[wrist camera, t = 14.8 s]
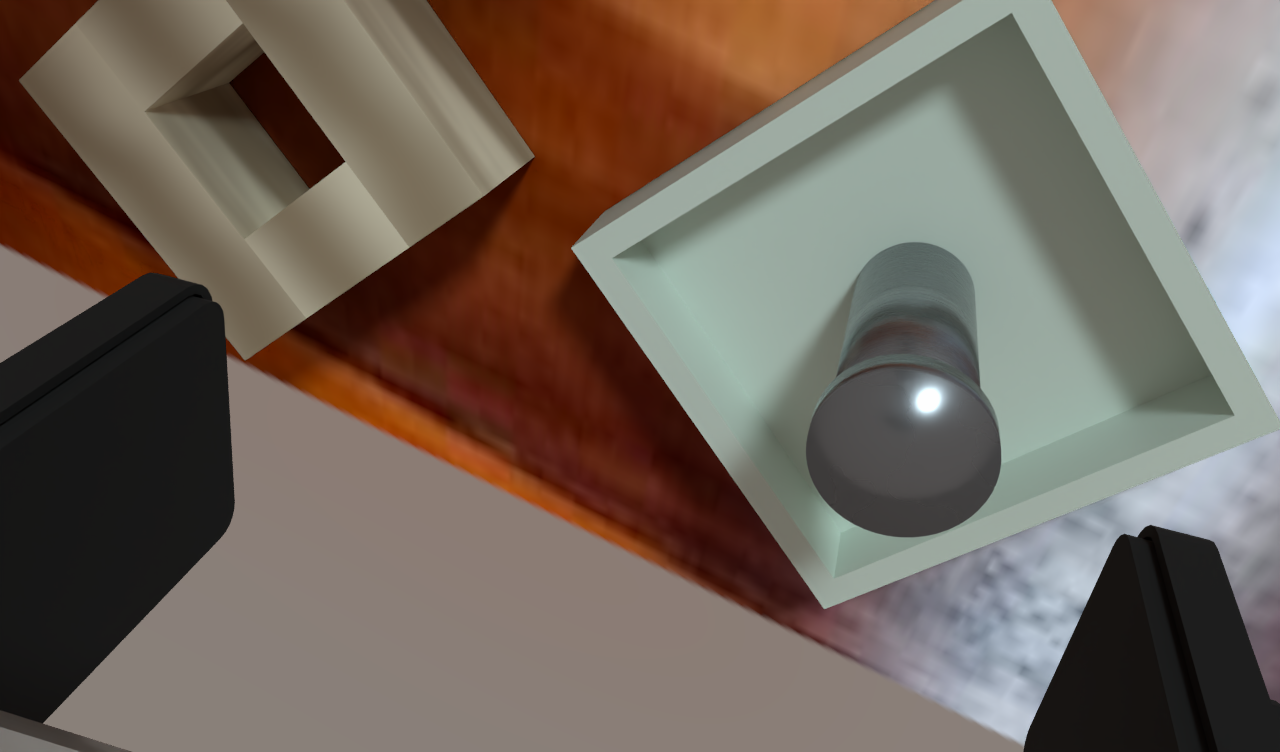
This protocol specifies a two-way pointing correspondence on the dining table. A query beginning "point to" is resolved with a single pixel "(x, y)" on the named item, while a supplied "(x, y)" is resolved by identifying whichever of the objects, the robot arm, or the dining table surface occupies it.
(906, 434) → the steel pin
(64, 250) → the dining table surface
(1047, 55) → the tray
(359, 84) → the pin block
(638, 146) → the dining table surface
